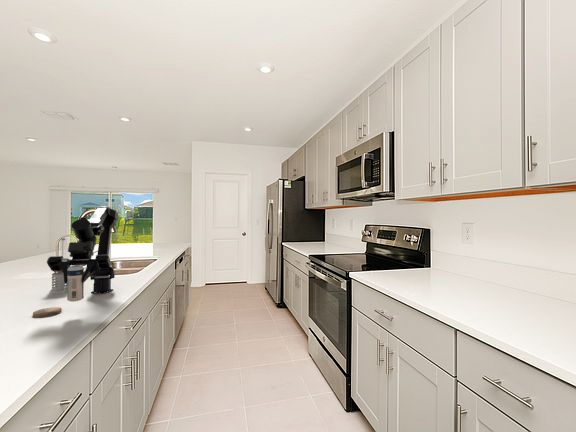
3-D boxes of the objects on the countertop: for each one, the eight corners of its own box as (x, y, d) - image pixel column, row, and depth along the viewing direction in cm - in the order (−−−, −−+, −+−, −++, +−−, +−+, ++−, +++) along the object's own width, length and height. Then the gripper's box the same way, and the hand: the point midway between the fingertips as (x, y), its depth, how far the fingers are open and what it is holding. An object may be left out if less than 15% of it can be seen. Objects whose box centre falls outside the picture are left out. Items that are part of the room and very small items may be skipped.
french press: (71, 286, 142) (71, 236, 142) (79, 290, 135) (80, 237, 135) (45, 290, 134) (46, 237, 134) (54, 294, 127) (54, 239, 127)
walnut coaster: (49, 309, 108) (49, 306, 108) (67, 310, 106) (67, 308, 106) (26, 316, 100) (26, 313, 100) (45, 318, 98) (45, 315, 98)
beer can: (87, 298, 103) (87, 265, 102) (73, 302, 98) (73, 268, 98) (77, 297, 104) (77, 264, 104) (63, 301, 100) (63, 267, 99)
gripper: (49, 234, 102) (32, 270, 91) (109, 233, 108) (100, 268, 97) (58, 252, 109) (44, 288, 99) (114, 251, 115) (106, 285, 105)
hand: (74, 282), depth 100 cm, fingers closed on beer can, 5 cm apart
